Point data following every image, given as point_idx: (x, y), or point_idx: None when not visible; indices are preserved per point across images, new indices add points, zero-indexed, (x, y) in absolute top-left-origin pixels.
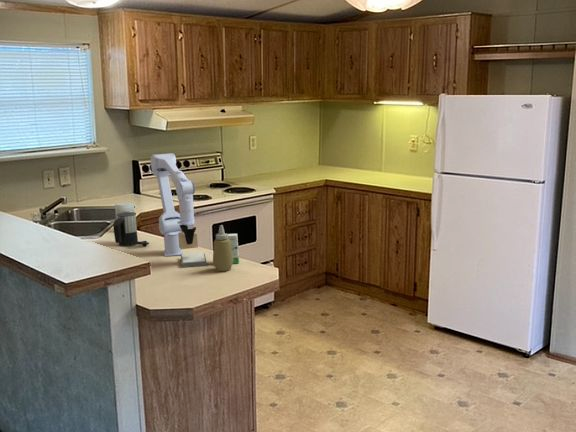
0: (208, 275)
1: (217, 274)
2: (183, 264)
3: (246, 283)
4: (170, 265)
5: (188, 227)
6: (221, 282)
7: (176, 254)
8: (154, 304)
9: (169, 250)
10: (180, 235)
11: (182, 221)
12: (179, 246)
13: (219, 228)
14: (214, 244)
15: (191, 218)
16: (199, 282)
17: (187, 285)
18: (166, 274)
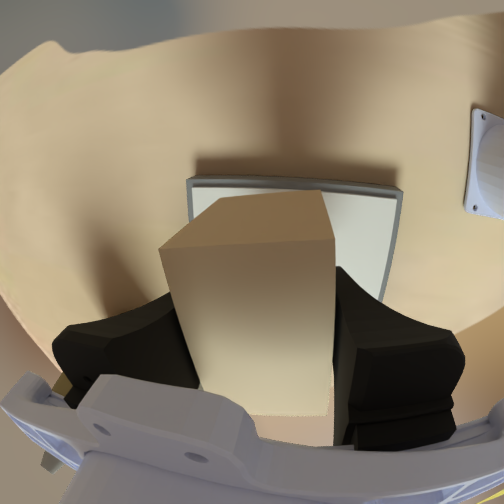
0: (79, 274)
1: (90, 302)
2: (189, 187)
3: (43, 336)
4: (264, 109)
5: (19, 384)
6: (37, 291)
7: (469, 176)
8: None
9: (494, 142)
10: (162, 254)
11: (83, 465)
12: (292, 193)
13: (45, 454)
14: (61, 381)
15: None
16: (29, 236)
17: (12, 200)
18: (104, 105)
